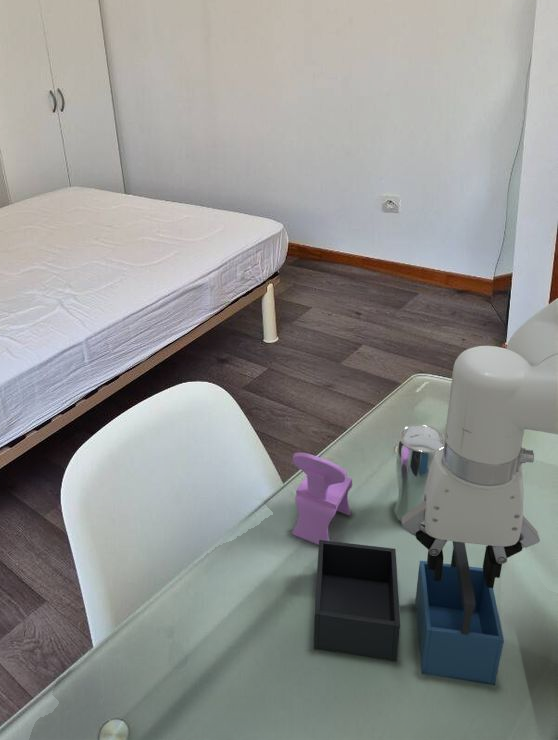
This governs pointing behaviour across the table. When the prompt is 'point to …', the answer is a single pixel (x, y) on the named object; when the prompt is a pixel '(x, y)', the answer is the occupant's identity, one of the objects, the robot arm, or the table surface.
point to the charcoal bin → (357, 600)
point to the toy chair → (319, 496)
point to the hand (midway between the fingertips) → (461, 574)
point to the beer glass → (414, 464)
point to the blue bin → (458, 622)
